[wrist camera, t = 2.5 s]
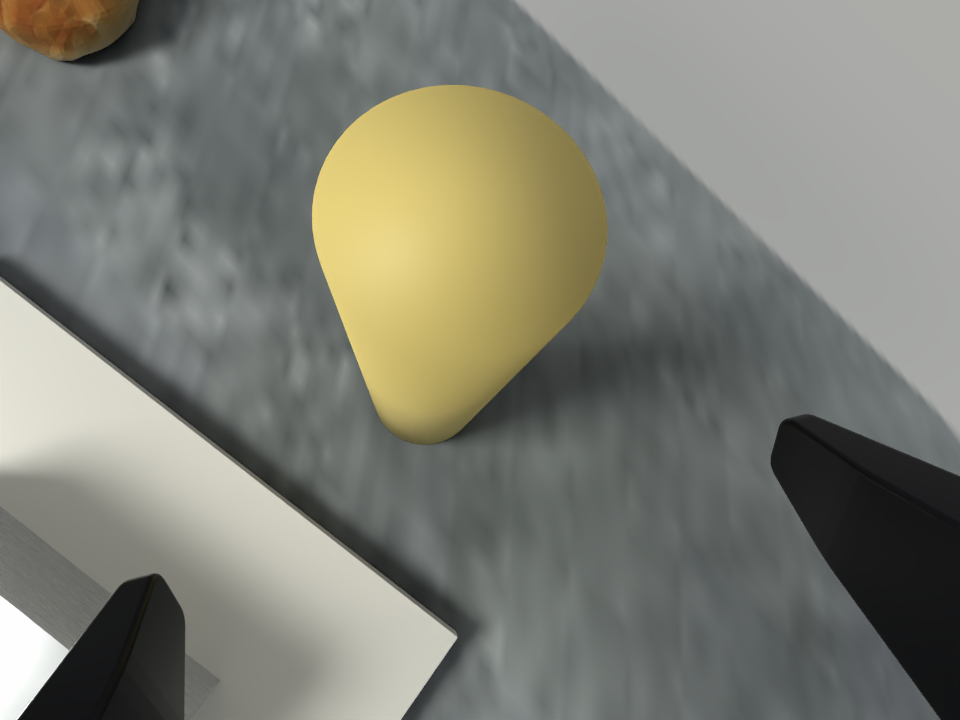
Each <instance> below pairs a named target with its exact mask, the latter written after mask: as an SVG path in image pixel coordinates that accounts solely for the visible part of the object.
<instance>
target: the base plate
mask: <svg viewBox="0 0 960 720" xmlns="http://www.w3.org/2000/svg"><path fill="white" fill-rule="evenodd" d="M0 506H1V507H2V508H3V509H4V510H6V511H7V512H8V513H9V514H11V515H12V516H13V517H14V518H16V519H17V520H18V521H20V522H21V523H22V524H23V525H25V526H26V527H27V528H28V529H30V530H31V531H32V532H33V533H35V534H36V535H37V536H38V537H40V538H41V539H42V540H44V541H45V542H46V543H47V544H49V545H50V546H51V547H52V548H54V549H55V550H56V551H57V552H59V553H60V554H61V555H62V556H64V557H65V558H66V559H67V560H69V561H70V562H71V563H73V564H74V565H75V566H76V567H78V568H79V569H80V570H81V571H83V572H84V573H85V574H86V575H88V576H89V577H90V578H91V579H93V580H94V581H95V582H97V583H98V584H99V585H100V586H102V587H103V588H104V589H105V590H107V591H108V592H109V593H110V594H112V595H113V593H114V592H115V591H116V589H117V588H118V587H119V586H120V585H121V584H122V583H123V582H124V581H126V580H128V579H131V578H135V577H139V576H143V575H148V574H152V573H157V574H160V575H161V576H162V577H163V578H164V579H165V581H166V583H167V584H168V586H169V588H170V589H171V591H172V592H173V594H174V596H175V597H176V599H177V601H178V602H179V604H180V606H181V608H182V610H183V613H184V617H185V627H186V631H185V653H186V654H187V655H189V656H190V657H191V658H193V659H194V660H195V661H196V662H198V663H199V664H200V665H201V666H203V667H204V668H205V669H206V670H208V671H209V672H210V673H211V674H213V675H214V676H215V677H217V678H218V679H219V680H220V682H219V683H218V685H217V686H216V687H215V688H214V690H213V691H212V692H211V694H210V695H209V696H208V697H207V699H206V700H205V701H204V703H203V704H202V705H201V706H200V708H199V709H198V710H197V712H196V713H195V714H194V715H193V717H192V718H191V719H190V720H401V719H402V717H403V716H404V714H405V713H406V712H407V710H408V709H409V707H410V706H411V704H412V703H413V701H414V700H415V698H416V697H417V696H418V694H419V693H420V691H421V690H422V688H423V687H424V685H425V684H426V683H427V681H428V680H429V678H430V677H431V675H432V674H433V672H434V671H435V670H436V668H437V667H438V665H439V664H440V662H441V661H442V659H443V658H444V657H445V655H446V654H447V652H448V651H449V649H450V648H451V646H452V645H453V643H454V642H455V641H456V639H457V638H458V637H457V634H456V631H455V630H454V629H452V628H451V627H450V626H449V625H447V624H446V623H445V622H444V621H442V620H441V619H440V618H438V617H437V616H436V615H435V614H433V613H432V612H431V611H429V610H428V609H427V608H426V607H424V606H423V605H422V604H420V603H419V602H418V601H417V600H415V599H414V598H413V597H411V596H410V595H409V594H408V593H406V592H405V591H404V590H402V589H401V588H400V587H399V586H397V585H396V584H395V583H393V582H392V581H391V580H390V579H388V578H387V577H386V576H384V575H383V574H382V573H381V572H379V571H378V570H377V569H375V568H374V567H373V566H372V565H370V564H369V563H368V562H366V561H365V560H364V559H363V558H361V557H360V556H359V555H358V554H356V553H355V552H354V551H352V550H351V549H350V548H349V547H347V546H346V545H345V544H343V543H342V542H341V541H340V540H338V539H337V538H336V537H334V536H333V535H332V534H331V533H329V532H328V531H327V530H325V529H324V528H323V527H322V526H320V525H319V524H318V523H316V522H315V521H314V520H313V519H311V518H310V517H309V516H307V515H306V514H305V513H304V512H302V511H301V510H300V509H298V508H297V507H296V506H295V505H293V504H292V503H291V502H289V501H288V500H287V499H286V498H284V497H283V496H282V495H280V494H279V493H278V492H277V491H275V490H274V489H273V488H272V487H270V486H269V485H268V484H266V483H265V482H264V481H263V480H261V479H260V478H259V477H257V476H256V475H255V474H254V473H252V472H251V471H250V470H248V469H247V468H246V467H245V466H243V465H242V464H241V463H239V462H238V461H237V460H236V459H234V458H233V457H232V456H230V455H229V454H228V453H227V452H225V451H224V450H223V449H221V448H220V447H219V446H218V445H216V444H215V443H214V442H212V441H211V440H210V439H209V438H207V437H206V436H205V435H203V434H202V433H201V432H200V431H198V430H197V429H196V428H194V427H193V426H192V425H191V424H189V423H188V422H187V421H186V420H184V419H183V418H182V417H180V416H179V415H178V414H177V413H175V412H174V411H173V410H171V409H170V408H169V407H168V406H166V405H165V404H164V403H162V402H161V401H160V400H159V399H157V398H156V397H155V396H153V395H152V394H151V393H150V392H148V391H147V390H146V389H144V388H143V387H142V386H141V385H139V384H138V383H137V382H135V381H134V380H133V379H132V378H130V377H129V376H128V375H126V374H125V373H124V372H123V371H121V370H120V369H119V368H117V367H116V366H115V365H114V364H112V363H111V362H110V361H108V360H107V359H106V358H105V357H103V356H102V355H101V354H99V353H98V352H97V351H96V350H94V349H93V348H92V347H91V346H89V345H88V344H87V343H85V342H84V341H83V340H82V339H80V338H79V337H78V336H76V335H75V334H74V333H73V332H71V331H70V330H69V329H67V328H66V327H65V326H64V325H62V324H61V323H60V322H58V321H57V320H56V319H55V318H53V317H52V316H51V315H49V314H48V313H47V312H46V311H44V310H43V309H42V308H40V307H39V306H38V305H37V304H35V303H34V302H33V301H31V300H30V299H29V298H28V297H26V296H25V295H24V294H22V293H21V292H20V291H19V290H17V289H16V288H15V287H13V286H12V285H11V284H10V283H8V282H7V281H6V280H5V279H3V278H2V277H1V276H0Z"/></svg>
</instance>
